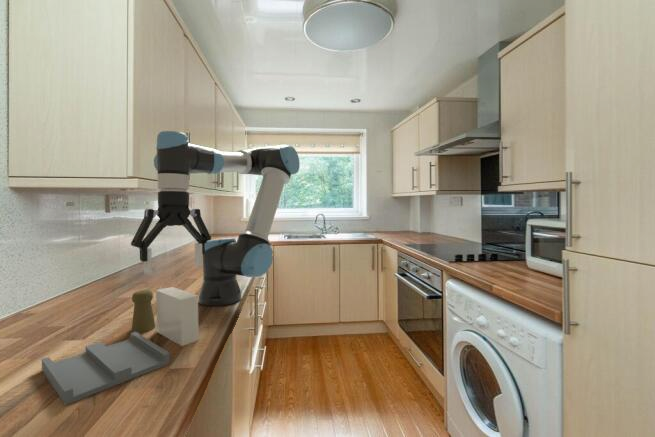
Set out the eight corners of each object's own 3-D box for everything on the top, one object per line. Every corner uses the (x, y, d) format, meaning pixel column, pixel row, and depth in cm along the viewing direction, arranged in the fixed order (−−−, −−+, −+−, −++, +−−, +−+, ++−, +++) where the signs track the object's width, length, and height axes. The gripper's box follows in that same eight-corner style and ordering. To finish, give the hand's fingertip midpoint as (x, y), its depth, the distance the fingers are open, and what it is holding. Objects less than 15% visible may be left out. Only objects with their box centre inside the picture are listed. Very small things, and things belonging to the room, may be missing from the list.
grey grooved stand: (135, 340, 82) (135, 331, 81) (169, 363, 70) (169, 352, 70) (42, 370, 67) (41, 359, 67) (65, 405, 55) (64, 391, 55)
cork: (150, 322, 94) (149, 287, 94) (159, 327, 90) (157, 290, 90) (128, 328, 90) (126, 291, 89) (136, 334, 86) (134, 295, 85)
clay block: (173, 327, 91) (172, 286, 90) (198, 340, 82) (197, 295, 82) (157, 332, 87) (156, 290, 87) (182, 346, 79) (180, 299, 78)
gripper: (208, 193, 95) (209, 261, 96) (114, 189, 75) (116, 275, 76) (222, 192, 90) (223, 264, 91) (126, 188, 71) (128, 280, 71)
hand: (174, 269), depth 84 cm, fingers open, 13 cm apart
